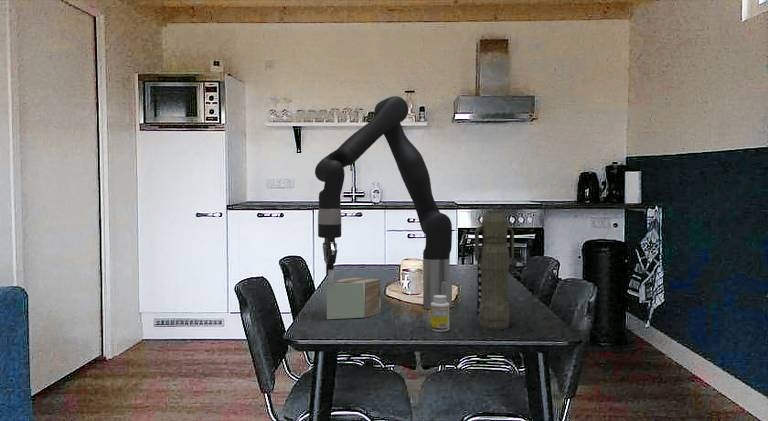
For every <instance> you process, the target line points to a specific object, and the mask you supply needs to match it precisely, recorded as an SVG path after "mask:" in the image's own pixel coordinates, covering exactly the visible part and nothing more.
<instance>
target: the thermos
mask: <svg viewBox="0 0 768 421" xmlns="http://www.w3.org/2000/svg"><path fill="white" fill-rule="evenodd" d="M480 231H481V238H482V241H481V246H480ZM508 231H509V247H508V241H507V239H508V238H507V237H508ZM479 254H480V257H479ZM514 259H515V230H514V229H513V228H512V227H511V226H508V219H507V216H506V212H503V211H502V210H487V211H486V212H484V214H483V216H482V219H481V225H480V226H477V227H476V229H475V230H474V260H475V261H476V262H477V261H479V262H480V269H481V301H480V317H479V321H480V322H479V327H481V328H483V329H488V330H504V329H508V328H509V327H510V326H509V320H510V303H509V300H508V294H509V293H508V292H509V291H508V285H509V284H508V272H509V270H510V263H511V262H512V261H513V260H514Z"/></svg>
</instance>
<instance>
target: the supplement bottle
mask: <svg viewBox="0 0 768 421" xmlns="http://www.w3.org/2000/svg"><path fill="white" fill-rule="evenodd" d="M433 301H434V302H432V303H431V309H430V328H431V330H432V331H433V332H436V333H437V332H438V333H446V332H449V330H450V329H451V328H450V326H451V325H450V323H451V322H450V320H451V319H450V318H451V315H450V305H449V303H448V302H447V296H445V295H435V296H433Z"/></svg>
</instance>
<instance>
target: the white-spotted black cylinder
mask: <svg viewBox="0 0 768 421" xmlns="http://www.w3.org/2000/svg"><path fill="white" fill-rule="evenodd" d="M479 257H480V253H479ZM476 265H477V266H476V269H477V270H476V273H477V274H476V278H477V279H476V280H477V281H476V282H477V283H476V287H477V288H476V291H477V292H476V294H477V296H476V306H477V307H476V310H477V311H476V316H477V317H479V318H480V301H481V269H480V262H479V261H476Z"/></svg>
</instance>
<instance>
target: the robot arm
mask: <svg viewBox="0 0 768 421" xmlns="http://www.w3.org/2000/svg"><path fill="white" fill-rule="evenodd" d="M373 113H374V117H373V118H372V119H371V120H370V121H368V123H366V124H365V125H364V126H362V127H361V128H359V129H358V130H356V131H355V132H354V133H353V134H352V135H350V136H349V137H348V138H347V139H346V140H345V141H344V142H343V143H341V145H340V146H339V147H337V149H335V150H334V151H332V152H331V153H329V154H328V155H326V156H325V157H323V158H322V159H321V160H320V161H319V162H318V163H317V164H316V166H315V168H314V176H315V177H316V179H317V180H319V181H320V182H322V183H324V184H323V190H320V191H319V193H318V213H317V236H318V238H321V239H324V240H323V242H322V252H323V260H324V264H325V275H326V276H327V277H328V270H334V269H335V268H334V265H335V264H336V263H337V262H336V261H337V255H338V244H337V243H336V239H339V238H341V237H342V211H341V210H342V209H341V207H342V206H341V205H342V204H341V200H342V199H341V194H342V191H343V187H344V183H345V182H344V181H345V174H346V173H345V168H346V167H348V166H351V165H353V164H354V163H355V162H357V160H359V158H360V157H362V156H363V155H364V154H365V153H366V152H367V151H368V149H370V148H371V147H372V145H373V144H374V143H376V142H377V141H378V140H379V139H380V138H381V137H382V136H384V138H385V140H386V142H387V144H388V145H389V146H388V147H389V148H390V151H391V153H392V157H393V159H394V161H395V163H396V166H397V169H398V171H399V173H400V176H401V179H402V181H403V183H404V186H405V187H406V190H407V193H408V195H409V196H410V199H411V201H412V203H413V205H414V208H415V212H416V214H417V218H418V221H419V225H420V229H421V231H422V233H424V235H425V246H424V249H423V251H422V257H423V258H422V265H423V266H422V280H423V281H422V283H423V284H422V297H423V298H422V303H423V306H422V307H423V308H424V309H427V310H431V303H432V302H434V301H433V296H435V295H445V296H447V302H448V303H449V305H450V308H453V280H451V279H450V278H451V273H450V272H451V270H450V268H451V267H450V266H451V265H450V264H451V261H450V258H451V252H452V243H453V240H452V239H453V227H452V226H453V223H452V220H451V218H450V217H449V216H448V215H447V214H445V213H442V212H440V210H439V207H438V205H437V203H436V200H435V199H434V195H433V190H432V184H431V183H432V182H431V178H430V173H429V171H428V168H427V165H426V162H425V160H424V157H423V156H422V154H421V153H420V151H419V150H418V149H417V147H415V145H414V144H413V143H412V142H411V140H409V139H408V137H407V136H406V134H405V132H404V129H403V126H402V122H403V121H404V120H405V119H406V118H407V116H408V114H409V104H408V103H407V101H406V100H405V99H404V98H403V97H401V96H398V95H397V96H396V95H394V96H393V95H392V96H390V97H386V98H385V99H383V100H380V101H379V102H377V104H375V107H374V112H373ZM334 271H335V270H334Z"/></svg>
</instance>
